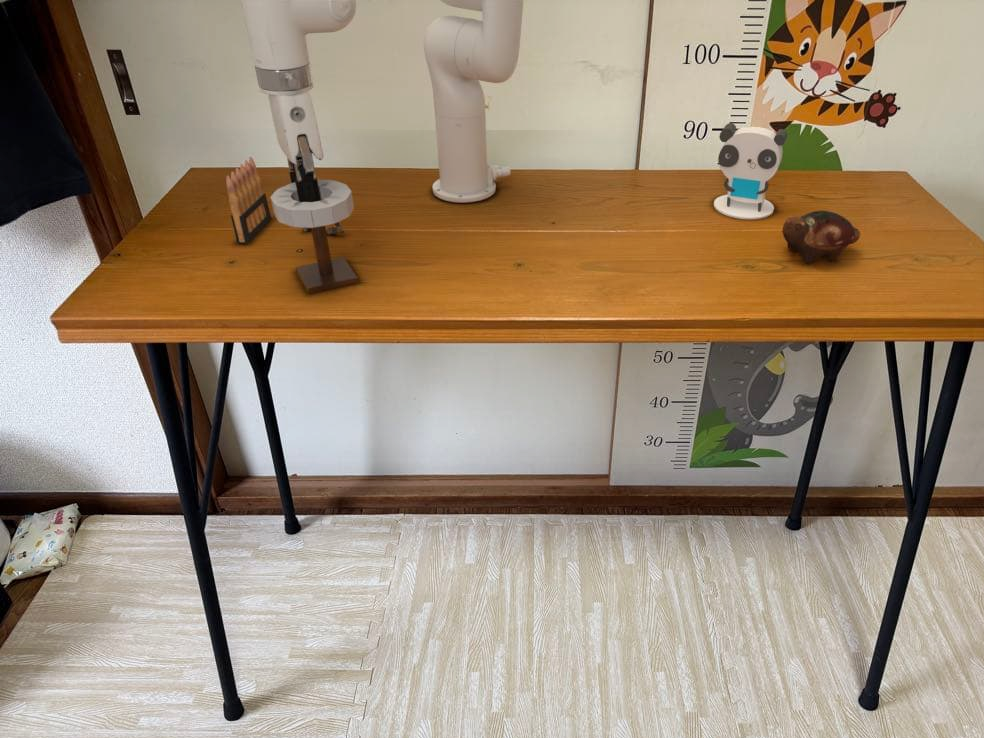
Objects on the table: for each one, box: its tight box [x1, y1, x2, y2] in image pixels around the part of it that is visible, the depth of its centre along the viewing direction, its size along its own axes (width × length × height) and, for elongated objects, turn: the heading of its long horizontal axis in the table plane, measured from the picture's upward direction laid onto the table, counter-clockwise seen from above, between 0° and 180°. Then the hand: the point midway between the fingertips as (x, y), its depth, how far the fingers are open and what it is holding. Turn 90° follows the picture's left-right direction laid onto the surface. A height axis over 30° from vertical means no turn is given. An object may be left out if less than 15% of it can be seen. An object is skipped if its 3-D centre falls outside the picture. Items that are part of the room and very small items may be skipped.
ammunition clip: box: [226, 156, 272, 245], centre depth 135 cm, size 11×2×12 cm, turn 172°
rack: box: [295, 225, 359, 295], centre depth 122 cm, size 8×8×11 cm
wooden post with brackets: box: [301, 221, 345, 235], centre depth 137 cm, size 2×8×4 cm, turn 71°
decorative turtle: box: [781, 210, 861, 265], centre depth 130 cm, size 10×15×8 cm, turn 113°
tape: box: [270, 179, 355, 229], centre depth 117 cm, size 12×12×3 cm
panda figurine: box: [713, 122, 788, 220], centre depth 144 cm, size 12×11×15 cm
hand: (307, 198), depth 121 cm, fingers closed on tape, 3 cm apart
